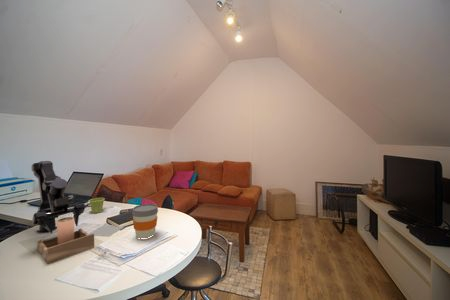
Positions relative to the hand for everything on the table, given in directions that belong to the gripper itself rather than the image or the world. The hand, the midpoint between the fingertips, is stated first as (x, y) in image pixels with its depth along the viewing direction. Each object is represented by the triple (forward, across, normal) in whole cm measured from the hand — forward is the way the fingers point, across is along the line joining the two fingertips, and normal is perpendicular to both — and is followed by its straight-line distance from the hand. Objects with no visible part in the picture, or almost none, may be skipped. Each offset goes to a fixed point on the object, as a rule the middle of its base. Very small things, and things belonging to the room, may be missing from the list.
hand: (64, 228), depth 89 cm
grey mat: (+4, +19, +9) cm, 21 cm away
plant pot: (-24, +29, +37) cm, 52 cm away
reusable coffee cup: (+19, +30, -5) cm, 35 cm away
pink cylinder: (+7, 0, +5) cm, 8 cm away
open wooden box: (+8, 0, +6) cm, 9 cm away
